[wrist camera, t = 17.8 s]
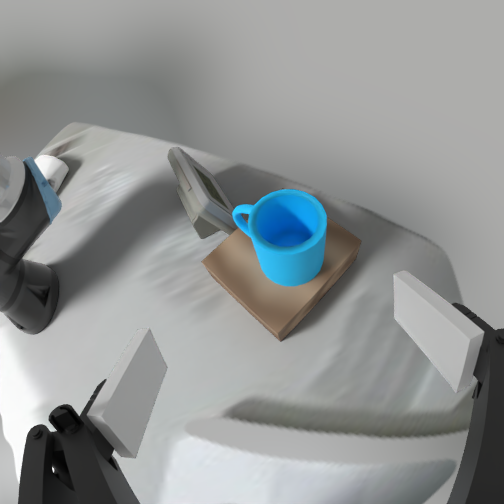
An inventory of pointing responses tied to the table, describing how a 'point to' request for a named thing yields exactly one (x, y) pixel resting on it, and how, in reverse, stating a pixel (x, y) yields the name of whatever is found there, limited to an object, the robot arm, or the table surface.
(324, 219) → the mug
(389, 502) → the table surface
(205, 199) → the digital clock
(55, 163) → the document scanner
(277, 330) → the riser block
